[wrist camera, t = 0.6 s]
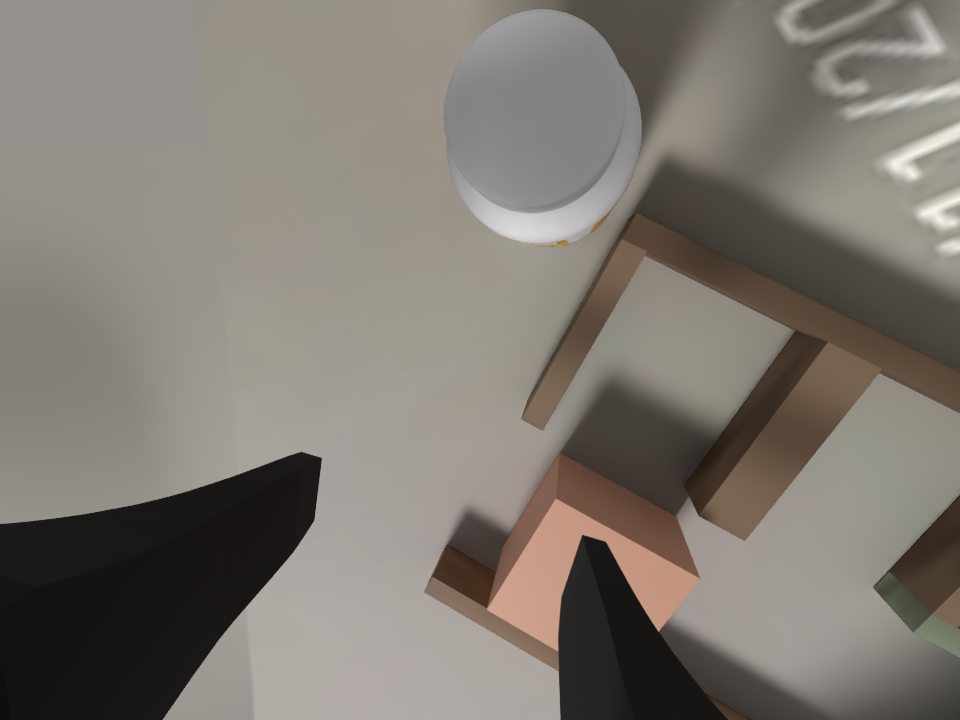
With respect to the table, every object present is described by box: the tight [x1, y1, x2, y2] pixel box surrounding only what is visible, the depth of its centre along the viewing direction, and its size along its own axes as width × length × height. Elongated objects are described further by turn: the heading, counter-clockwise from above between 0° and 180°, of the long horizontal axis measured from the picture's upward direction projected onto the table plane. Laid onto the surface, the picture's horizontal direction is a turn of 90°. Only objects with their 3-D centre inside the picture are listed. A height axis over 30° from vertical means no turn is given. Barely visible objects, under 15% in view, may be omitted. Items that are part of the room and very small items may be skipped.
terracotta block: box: [487, 453, 700, 651], centre depth 20 cm, size 6×6×4 cm
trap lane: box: [424, 213, 960, 720], centre depth 19 cm, size 19×25×2 cm
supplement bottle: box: [444, 9, 642, 247], centre depth 15 cm, size 5×5×10 cm
